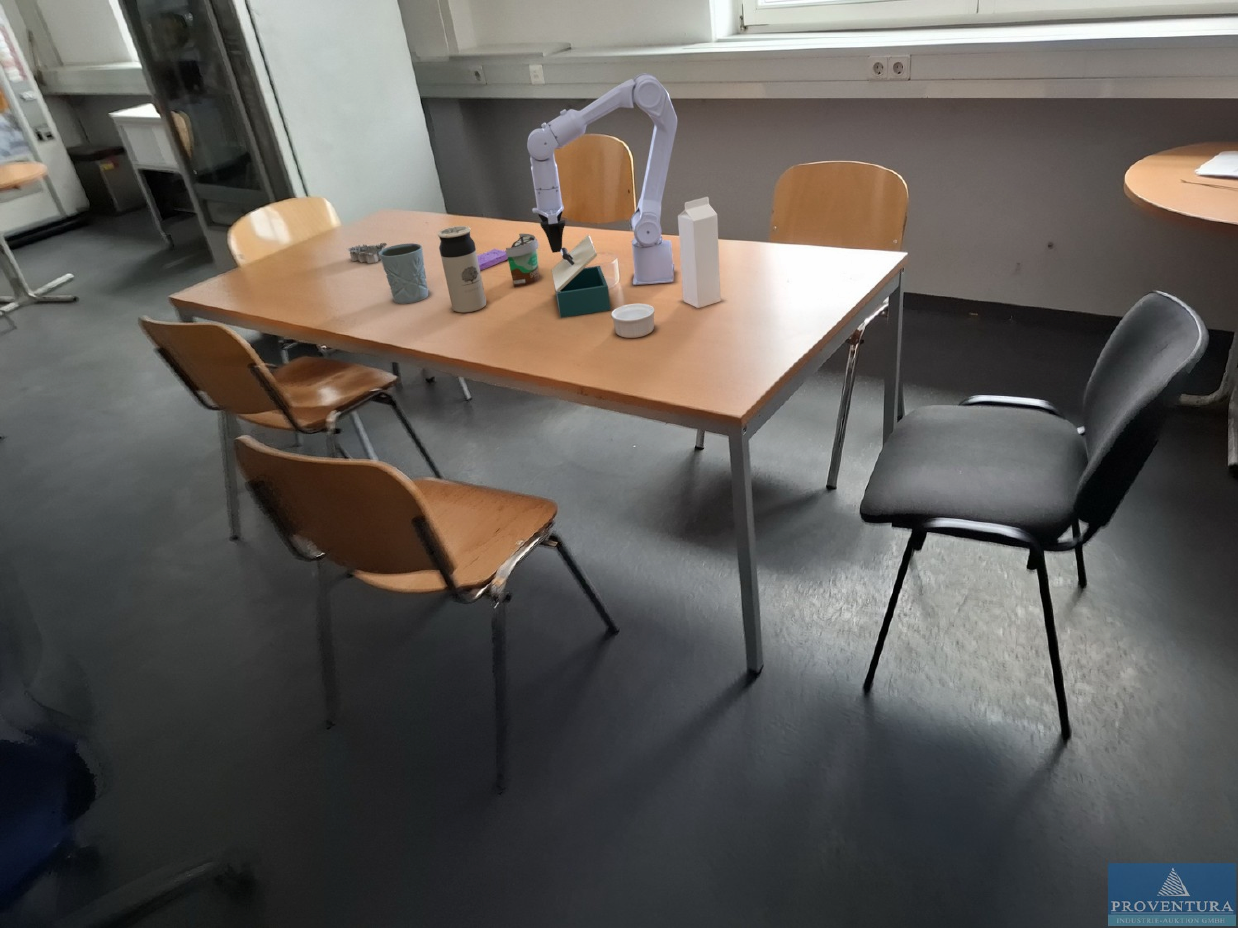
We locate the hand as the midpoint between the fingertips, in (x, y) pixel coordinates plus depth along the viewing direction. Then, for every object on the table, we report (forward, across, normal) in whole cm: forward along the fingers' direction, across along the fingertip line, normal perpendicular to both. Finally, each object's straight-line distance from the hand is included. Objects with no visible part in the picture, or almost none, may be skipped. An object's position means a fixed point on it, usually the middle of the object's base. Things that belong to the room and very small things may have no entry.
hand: (555, 247), depth 190 cm
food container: (+11, -11, -7) cm, 17 cm away
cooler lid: (+1, +10, +3) cm, 11 cm away
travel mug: (+11, +2, -22) cm, 25 cm away
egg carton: (+11, -50, -52) cm, 73 cm away
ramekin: (+11, +31, +13) cm, 35 cm away
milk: (+11, +21, +29) cm, 37 cm away
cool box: (+10, +10, +4) cm, 15 cm away
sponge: (+11, -29, -18) cm, 36 cm away
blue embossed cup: (+11, -11, -36) cm, 40 cm away
